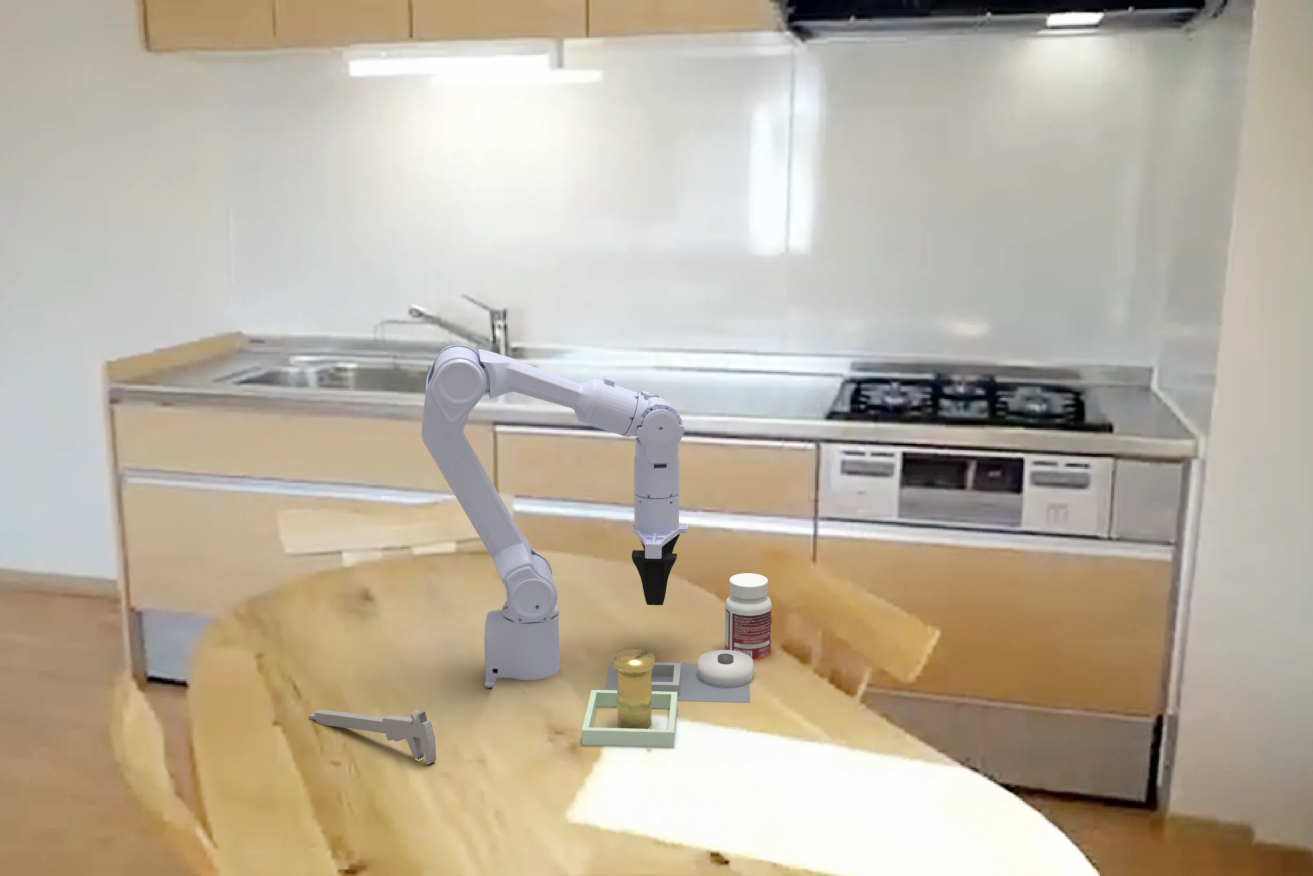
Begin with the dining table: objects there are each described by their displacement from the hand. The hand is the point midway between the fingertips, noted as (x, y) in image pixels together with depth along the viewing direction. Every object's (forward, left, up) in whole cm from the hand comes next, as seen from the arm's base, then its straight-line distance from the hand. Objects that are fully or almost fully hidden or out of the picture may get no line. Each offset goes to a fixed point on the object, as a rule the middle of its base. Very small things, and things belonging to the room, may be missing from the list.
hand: (656, 593), depth 160 cm
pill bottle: (+12, +3, -11) cm, 16 cm away
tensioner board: (+3, -7, -10) cm, 13 cm away
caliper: (-32, -22, -11) cm, 40 cm away
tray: (-2, -19, -10) cm, 21 cm away
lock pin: (-2, -18, -10) cm, 21 cm away
